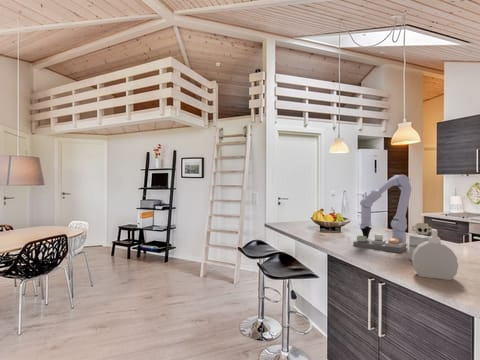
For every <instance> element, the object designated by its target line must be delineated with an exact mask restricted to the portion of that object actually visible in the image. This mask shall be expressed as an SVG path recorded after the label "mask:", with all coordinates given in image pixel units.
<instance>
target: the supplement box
mask: <svg viewBox="0 0 480 360" xmlns="http://www.w3.org/2000/svg"><path fill="white" fill-rule="evenodd" d="M408 236H409V241H408V250H409V251H408V260H410V261H412V255H413V251H414V250H415V248H416V247H417V246H418V245H419V244H421V243H423V242H425V241H428V238H429V237H430V236H428V235H426V236H424V235H419V234H418V233H416V234H409V235H408Z"/></svg>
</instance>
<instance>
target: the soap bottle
mask: <svg viewBox="0 0 480 360" xmlns="http://www.w3.org/2000/svg"><path fill="white" fill-rule="evenodd" d="M411 261H412V267H413V268H414V270H415V271H416V274H417V275H418V277H421V278H430V279H437V280H445V281H452V280H453V279H454V278H455V276H456V275H457V273H458V269H459V263H458V258H457V256H456V254H455V252H454V250H452V249H451V248H450V247H449V246H447V245H446V244H445V243H443V242H441V238H440V237H439V236H438V229H435V228H432V231H431V235H430V236H429V238H428V241H425V242H423V243H421V244H419V245H418V246H417V247H416V248H415V250H414V251H413V255H412V260H411Z"/></svg>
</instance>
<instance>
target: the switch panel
mask: <svg viewBox="0 0 480 360" xmlns="http://www.w3.org/2000/svg"><path fill="white" fill-rule="evenodd" d="M352 243H353V244H352V245H353V246H354V247H359V248H367V249H373V250H379V251H387V252H392V253H397V252H398V254H399V253H401V252H403V251H404V250H406V249H407V245H406V244H405V241H402V242H401V243H400V244H392V243H388V241H387V240H386V239H383V240H375V238H372V239H369V238H368V239H367V241H366V242H364V241H357V239H356V240H353V242H352Z"/></svg>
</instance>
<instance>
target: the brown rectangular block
mask: <svg viewBox="0 0 480 360" xmlns="http://www.w3.org/2000/svg"><path fill="white" fill-rule="evenodd" d="M387 242H388V243H392V244H400V243H401V242H402V239H398V238H392V237H391V238H390V239H388V240H387Z"/></svg>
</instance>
